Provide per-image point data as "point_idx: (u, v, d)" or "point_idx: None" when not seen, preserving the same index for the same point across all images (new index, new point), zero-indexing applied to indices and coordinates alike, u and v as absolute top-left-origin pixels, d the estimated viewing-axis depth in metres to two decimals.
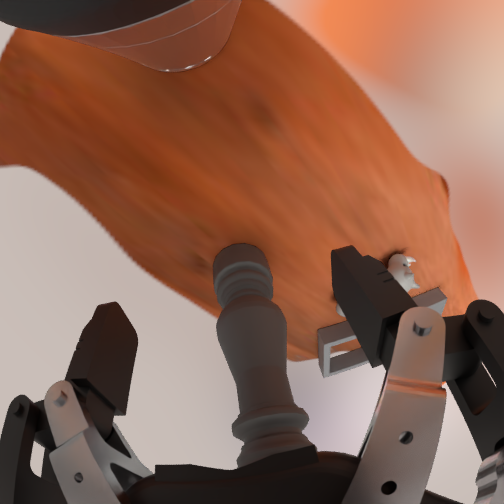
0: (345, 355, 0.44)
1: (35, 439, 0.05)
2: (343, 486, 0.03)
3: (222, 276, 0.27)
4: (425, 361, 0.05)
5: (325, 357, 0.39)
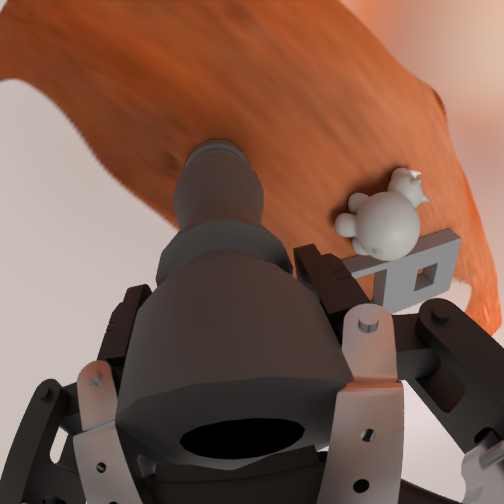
0: None
1: (63, 425, 0.05)
2: (315, 490, 0.03)
3: None
4: (376, 357, 0.05)
5: None
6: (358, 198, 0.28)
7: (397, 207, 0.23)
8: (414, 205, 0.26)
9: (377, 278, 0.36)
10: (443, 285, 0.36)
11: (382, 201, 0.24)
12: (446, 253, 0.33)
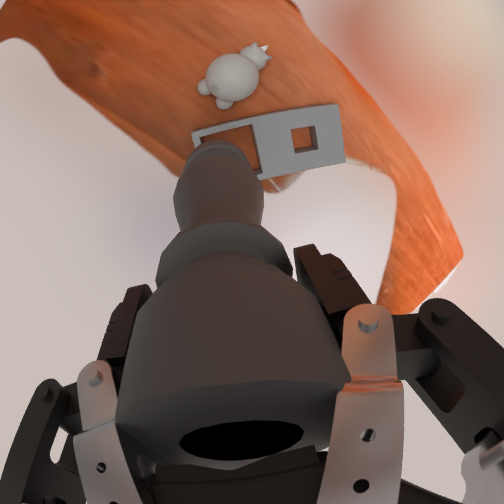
0: None
1: (63, 426, 0.05)
2: (315, 490, 0.03)
3: None
4: (376, 356, 0.05)
5: None
6: None
7: (226, 56, 0.29)
8: (255, 61, 0.31)
9: (254, 142, 0.41)
10: (335, 154, 0.42)
11: (218, 57, 0.30)
12: (323, 117, 0.38)
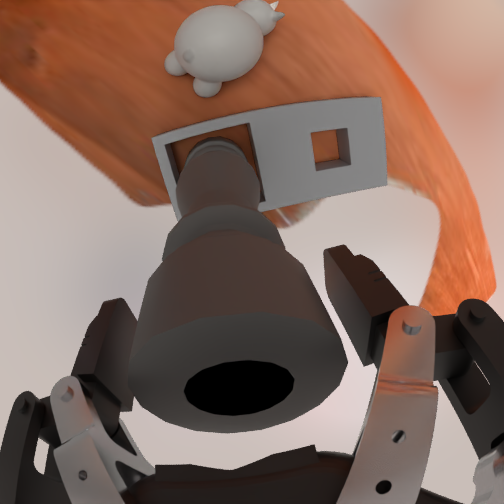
0: None
1: (40, 436, 0.05)
2: (338, 487, 0.03)
3: None
4: (415, 359, 0.05)
5: (164, 171, 0.24)
6: None
7: (209, 7, 0.14)
8: (257, 19, 0.17)
9: (253, 151, 0.27)
10: (374, 173, 0.27)
11: None
12: (359, 116, 0.24)
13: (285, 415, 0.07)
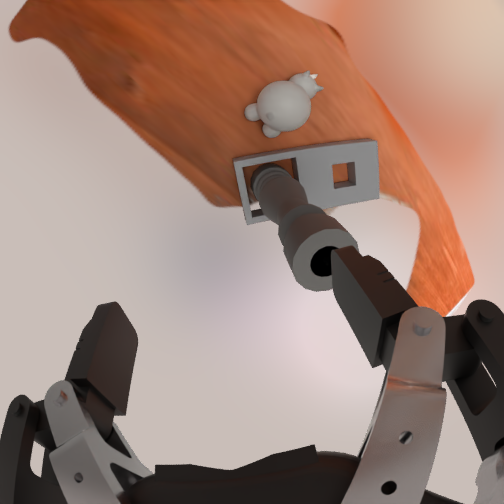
0: None
1: (35, 439, 0.05)
2: (343, 486, 0.03)
3: (260, 177, 0.39)
4: (425, 361, 0.05)
5: (240, 184, 0.40)
6: None
7: (282, 83, 0.30)
8: (307, 91, 0.32)
9: (294, 174, 0.42)
10: (370, 190, 0.42)
11: (272, 83, 0.31)
12: (362, 154, 0.39)
13: None
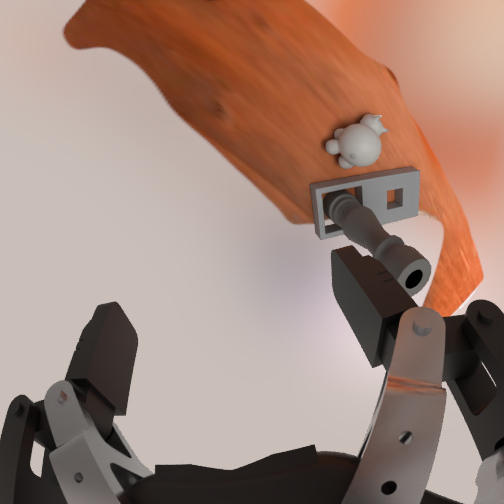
0: None
1: (35, 439, 0.05)
2: (343, 486, 0.03)
3: (335, 202, 0.46)
4: (425, 361, 0.05)
5: (319, 207, 0.47)
6: (340, 130, 0.42)
7: (363, 128, 0.37)
8: (377, 133, 0.39)
9: (357, 197, 0.50)
10: (412, 209, 0.50)
11: (353, 126, 0.38)
12: (409, 181, 0.47)
13: (417, 290, 0.30)
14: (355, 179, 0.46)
